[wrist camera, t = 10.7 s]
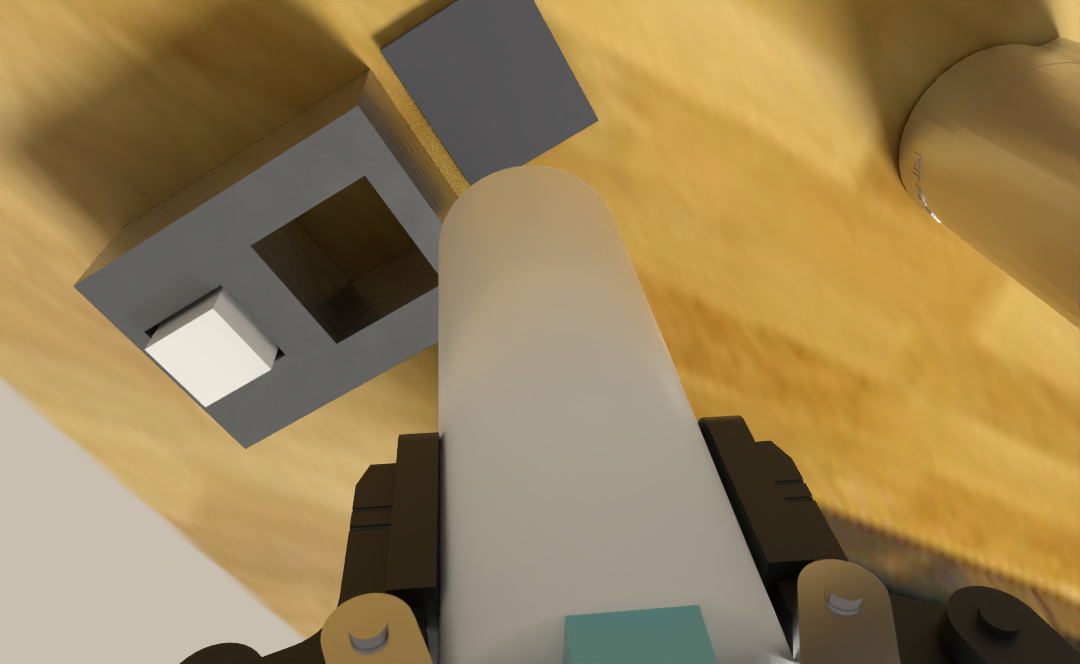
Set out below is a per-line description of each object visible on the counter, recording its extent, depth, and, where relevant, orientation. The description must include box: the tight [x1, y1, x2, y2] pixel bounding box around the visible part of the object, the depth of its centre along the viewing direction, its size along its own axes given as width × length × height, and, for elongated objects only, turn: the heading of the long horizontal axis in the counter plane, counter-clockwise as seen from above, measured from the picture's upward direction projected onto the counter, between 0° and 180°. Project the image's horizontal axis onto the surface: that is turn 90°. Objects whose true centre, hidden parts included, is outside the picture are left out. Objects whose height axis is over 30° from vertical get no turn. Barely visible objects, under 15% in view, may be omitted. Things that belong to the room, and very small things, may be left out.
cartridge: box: [438, 165, 794, 664], centre depth 16 cm, size 5×5×14 cm
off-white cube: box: [145, 285, 279, 407], centre depth 38 cm, size 4×4×5 cm
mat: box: [381, 0, 599, 186], centre depth 38 cm, size 7×8×1 cm
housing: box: [74, 69, 458, 449], centre depth 38 cm, size 15×11×6 cm
